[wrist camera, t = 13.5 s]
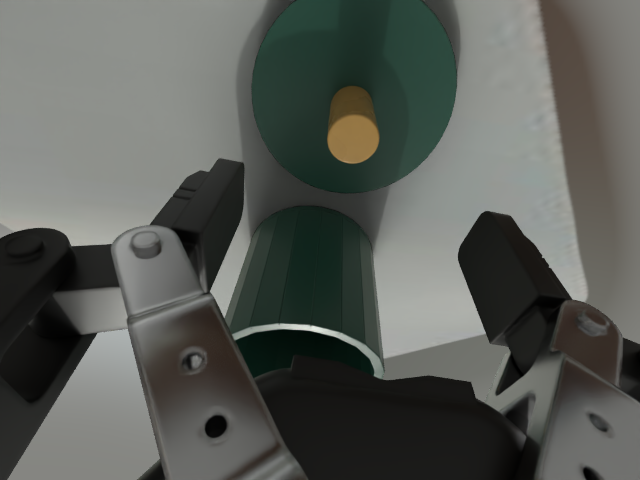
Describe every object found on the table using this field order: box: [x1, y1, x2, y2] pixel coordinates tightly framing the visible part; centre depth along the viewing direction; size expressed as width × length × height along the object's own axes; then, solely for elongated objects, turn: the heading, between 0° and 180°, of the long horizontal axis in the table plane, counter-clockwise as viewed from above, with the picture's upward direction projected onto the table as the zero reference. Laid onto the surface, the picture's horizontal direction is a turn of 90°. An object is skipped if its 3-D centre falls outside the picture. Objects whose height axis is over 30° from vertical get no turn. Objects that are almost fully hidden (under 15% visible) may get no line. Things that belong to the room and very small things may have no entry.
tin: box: [225, 206, 385, 379], centre depth 23 cm, size 10×10×10 cm
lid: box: [252, 0, 457, 193], centre depth 17 cm, size 11×11×6 cm
